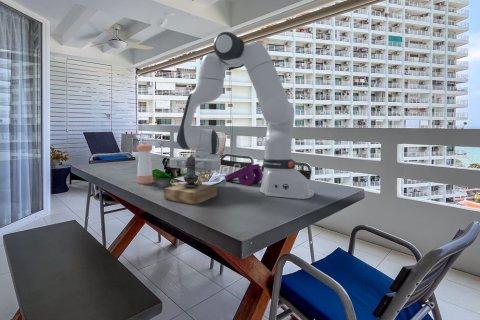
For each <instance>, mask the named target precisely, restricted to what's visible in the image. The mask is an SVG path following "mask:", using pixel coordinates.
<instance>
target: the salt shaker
mask: <svg viewBox="0 0 480 320" xmlns="http://www.w3.org/2000/svg"><path fill="white" fill-rule="evenodd" d="M152 149H153V147H152V145H150V144H149V143H148V144H147V143H146V142H142V143H140V144H138V145H137V146H136V151H138V153H137V154H138V155H137V157H138V159H137V160H138V162H137V163H138V164H137V168H136V169H137V175H136V183H137V184H140V185H148V184H152V183H154V175H153V165H152V159H151V157H152V156H151V155H152V153H151V151H152Z"/></svg>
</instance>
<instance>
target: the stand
mask: <svg viewBox="0 0 480 320" xmlns="http://www.w3.org/2000/svg"><path fill="white" fill-rule="evenodd" d="M185 184H187V182H184V183H181V184H176V185H173V186H169V187H164V189H163V191H164V195H163V196H164V200H167V199H168V200H169V201H174V202H178V203H183V204H185V203H186V204H188V205H197V204H200V203H203V202H205V201H208V200H211V199H213V198H216V197H218V186H217V185H212V184H206V183H205V184H204V183H197V182H195V184H197V185H198V186H196V187H186V186H184V185H185Z"/></svg>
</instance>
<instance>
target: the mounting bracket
mask: <svg viewBox="0 0 480 320" xmlns="http://www.w3.org/2000/svg"><path fill="white" fill-rule="evenodd" d="M262 171H263V170H262V169H261V166H260V164H259V163H255V164H250V165H246V166H245V167H242V168H240V169H237V170H236V171H234V172H232V173H229V174H227V175H225V176H224V179H225V181H226V182H227V181H231V180H235V179H237V178H238V182H239V183H240V184H241V185H242V186H246V187H247V186H250V185H252V184H257V183H260V182H262V180H263V172H262Z"/></svg>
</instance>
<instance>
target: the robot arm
mask: <svg viewBox="0 0 480 320" xmlns="http://www.w3.org/2000/svg"><path fill="white" fill-rule="evenodd" d="M213 52H214V53H207V54H205V55H204V56H203V58H202V59H201V62H200V66H199V72H198V81H197V83H196V86H195V88H194V90H192V91H190V93H189V94H188V96H187V100H186V104H185V106H184V109H183V110H184V111H183V114H182V118H181V123H180V125H179V129H178V131H177V135H176V143H177V145H178V146H179V147H180V148H181V149H182V150H195V151H194V152H192V153H191V154H192V156H193V157H194V158H195V173H203V172H207V171H219V170H221V157H220V154H217V153H218V151H219V146H220V137H219V135H218V133H217V132H216V131H215V130H214V129H210V128H209V129H208V128H199V127H198V128H197V127H193V126H192V124H193V120H194V118H195V117H194V116H195V112H196V110H197V108H199V106H202V105H204V104H207V103H210V102H211V103H212V102H214V101H216V100H217V99H219V98H220V97H221V96H222V93H223V89H224V83H225V82H224V81H225V75H226V74H225V73H226V72H227V71H232V70H236V69H240V68H242V67H245V69H246V71H247V74H248V77H249V79H250V81H251V84H252V86H253V89H254V91H255V94H256V98H257V101H258V104H259V107H260V111H261V113H262V115H263V118H264V120H265V121H266V122H267V127H266V133H265V137H264V158H263V161H262V171H263V172H262V174H263V177H262V180H261V185H260V188H259V192H260V193H262V194H264V196H267V197H277V198H287V199H298V200H306V199H310V198H312V197H314V195H315V191H314V190H312V189H310V185H309V181H308V179H307V177H306V176H305V175H303V174H302V173H301V172H300V171H298V170H297V169H296V165H297V160H294V159H292V141H293V132H294V119H295V108H294V106H293V104H292V103H291V102H290V101H289V100H288V98H287V95H286V92H285V89H284V87H283V84H282V80H281V78H280V76H279V73H278V71H277V69H276V67H275V64H274V62H273V59H272V57H271V56H270V53H269V52H268V50H267V49H266V47H265V46H264V45H263V43H262V42H261V41H252V42H250V43H248V44H247V43H246V44H245V41H244V40H243V39H241V38H240V37H239V36H237V35H236V34H235V33H233V32H230V31H223V32H220V33H218V34H217V35H216V36H215V37H214V41H213ZM191 154H189V156H187V157H186V156H185V157H183V156H176V157H171V158H169V167H170V168H173V169H174V168H175V169H187V167H186V166H187V158H188V157H190V156H191Z"/></svg>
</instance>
